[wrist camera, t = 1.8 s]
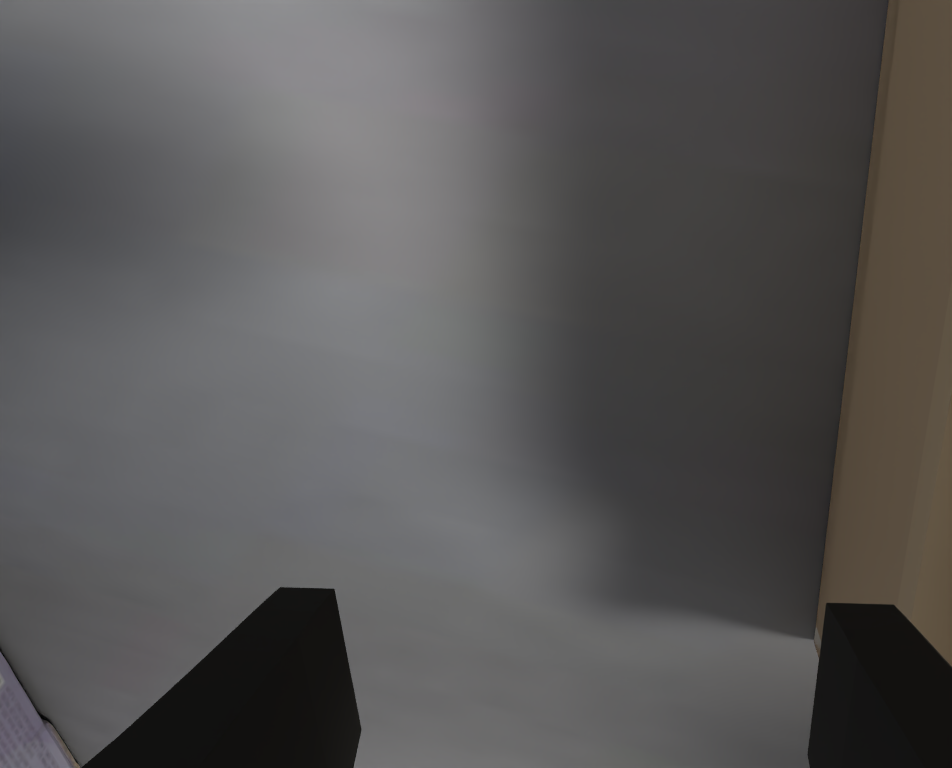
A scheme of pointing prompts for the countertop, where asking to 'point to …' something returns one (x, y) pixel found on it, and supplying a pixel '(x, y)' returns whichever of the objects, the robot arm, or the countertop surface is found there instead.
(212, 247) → the countertop surface
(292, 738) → the robot arm
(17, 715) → the cake pan box
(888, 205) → the mailer base
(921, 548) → the mailer lid
